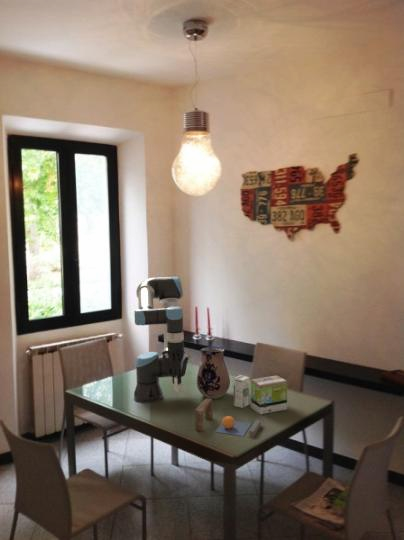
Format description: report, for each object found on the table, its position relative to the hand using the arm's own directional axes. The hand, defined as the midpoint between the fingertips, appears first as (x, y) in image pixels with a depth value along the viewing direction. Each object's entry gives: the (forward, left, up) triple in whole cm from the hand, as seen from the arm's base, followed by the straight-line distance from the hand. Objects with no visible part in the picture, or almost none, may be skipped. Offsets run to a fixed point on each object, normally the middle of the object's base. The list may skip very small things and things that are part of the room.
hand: (177, 390), depth 226 cm
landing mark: (+27, 0, -14) cm, 31 cm away
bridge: (+13, 0, -14) cm, 19 cm away
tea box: (+37, +26, -15) cm, 48 cm away
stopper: (+37, 0, -14) cm, 40 cm away
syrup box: (+23, +26, -15) cm, 38 cm away
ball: (+25, -1, -12) cm, 28 cm away
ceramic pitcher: (+5, +36, -15) cm, 39 cm away
